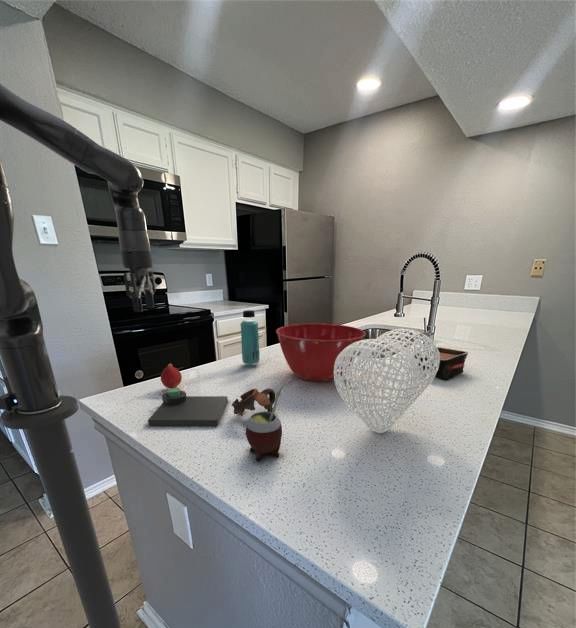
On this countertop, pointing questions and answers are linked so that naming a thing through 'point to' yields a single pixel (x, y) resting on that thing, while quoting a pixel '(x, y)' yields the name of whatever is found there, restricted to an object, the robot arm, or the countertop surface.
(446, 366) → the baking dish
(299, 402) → the countertop surface
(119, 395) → the countertop surface
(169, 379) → the onion
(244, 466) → the countertop surface
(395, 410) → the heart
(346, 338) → the mixing bowl
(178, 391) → the button
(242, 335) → the beverage bottle
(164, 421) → the scale
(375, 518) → the countertop surface
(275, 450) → the mate gourd
